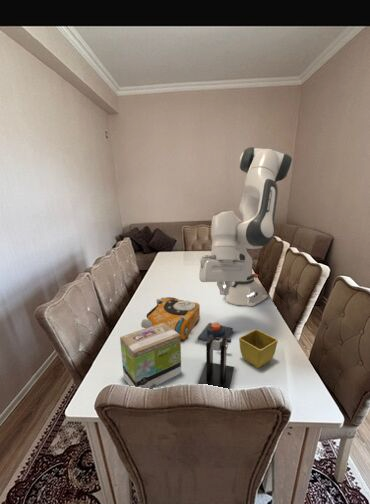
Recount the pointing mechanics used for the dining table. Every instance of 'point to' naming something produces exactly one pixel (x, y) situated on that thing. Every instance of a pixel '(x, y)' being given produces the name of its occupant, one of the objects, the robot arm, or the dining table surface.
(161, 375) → the tea box
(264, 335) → the flower pot
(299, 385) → the dining table surface
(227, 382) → the bracket
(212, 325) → the button
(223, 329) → the button block
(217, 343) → the lever
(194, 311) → the device
